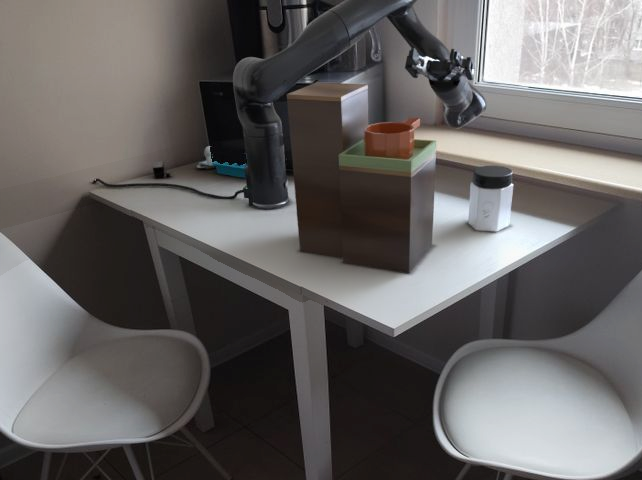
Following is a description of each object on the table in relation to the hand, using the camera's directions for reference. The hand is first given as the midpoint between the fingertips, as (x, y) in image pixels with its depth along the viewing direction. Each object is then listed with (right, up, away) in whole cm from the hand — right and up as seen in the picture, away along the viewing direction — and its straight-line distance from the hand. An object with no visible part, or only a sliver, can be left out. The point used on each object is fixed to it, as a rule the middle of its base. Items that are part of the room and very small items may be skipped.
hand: (431, 53), depth 126 cm
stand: (-14, -40, +3) cm, 42 cm away
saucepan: (-8, -22, -6) cm, 24 cm away
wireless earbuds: (-70, -10, +54) cm, 89 cm away
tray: (-10, -24, -10) cm, 28 cm away
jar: (+14, -33, +12) cm, 38 cm away
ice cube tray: (-44, -9, +53) cm, 70 cm away
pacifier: (-58, -6, +59) cm, 83 cm away
